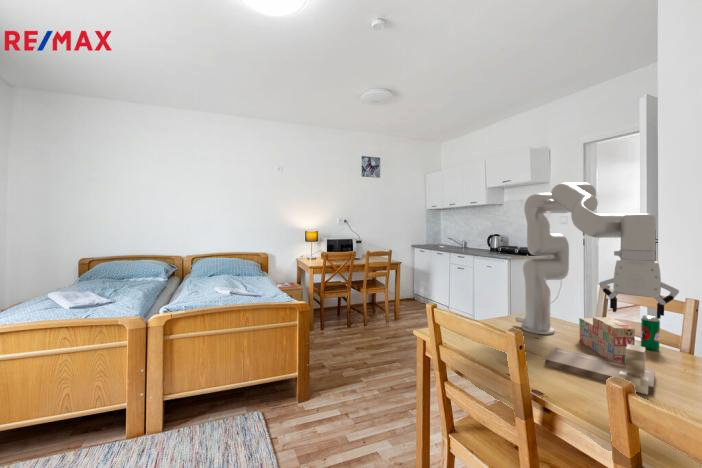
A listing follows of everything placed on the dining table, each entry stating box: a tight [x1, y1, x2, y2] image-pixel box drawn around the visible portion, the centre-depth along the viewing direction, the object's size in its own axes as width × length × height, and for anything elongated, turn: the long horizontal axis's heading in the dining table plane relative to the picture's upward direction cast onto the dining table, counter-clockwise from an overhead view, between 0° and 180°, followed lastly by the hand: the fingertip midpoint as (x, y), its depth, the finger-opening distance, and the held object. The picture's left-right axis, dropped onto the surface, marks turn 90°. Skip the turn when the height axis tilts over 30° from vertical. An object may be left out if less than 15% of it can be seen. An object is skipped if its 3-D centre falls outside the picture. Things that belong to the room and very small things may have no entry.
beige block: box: [619, 344, 649, 396], centre depth 93 cm, size 6×15×10 cm, turn 135°
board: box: [545, 347, 656, 395], centre depth 102 cm, size 26×14×2 cm, turn 45°
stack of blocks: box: [578, 316, 636, 363], centre depth 117 cm, size 21×6×12 cm, turn 171°
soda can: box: [640, 314, 661, 352], centre depth 118 cm, size 5×5×12 cm
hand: (635, 314), depth 93 cm, fingers open, 9 cm apart
